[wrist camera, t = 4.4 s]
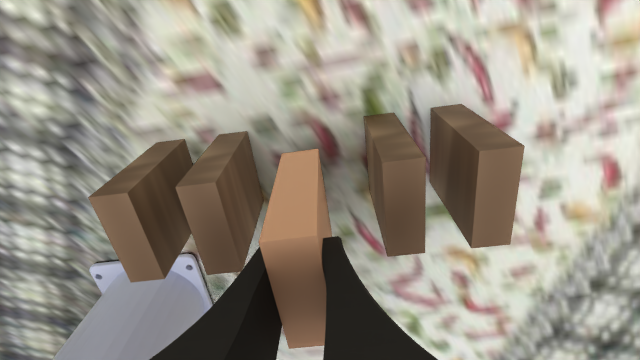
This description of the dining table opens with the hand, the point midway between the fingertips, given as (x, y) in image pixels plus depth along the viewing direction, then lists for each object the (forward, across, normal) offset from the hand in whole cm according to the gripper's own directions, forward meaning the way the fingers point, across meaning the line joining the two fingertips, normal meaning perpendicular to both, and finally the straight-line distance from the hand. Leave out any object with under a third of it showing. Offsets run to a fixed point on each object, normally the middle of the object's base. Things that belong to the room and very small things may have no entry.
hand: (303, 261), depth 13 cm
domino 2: (+10, +4, 0) cm, 11 cm away
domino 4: (+10, -4, 0) cm, 11 cm away
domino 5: (+10, -8, 0) cm, 13 cm away
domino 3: (+5, 0, 0) cm, 5 cm away
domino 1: (+10, +8, 0) cm, 13 cm away
